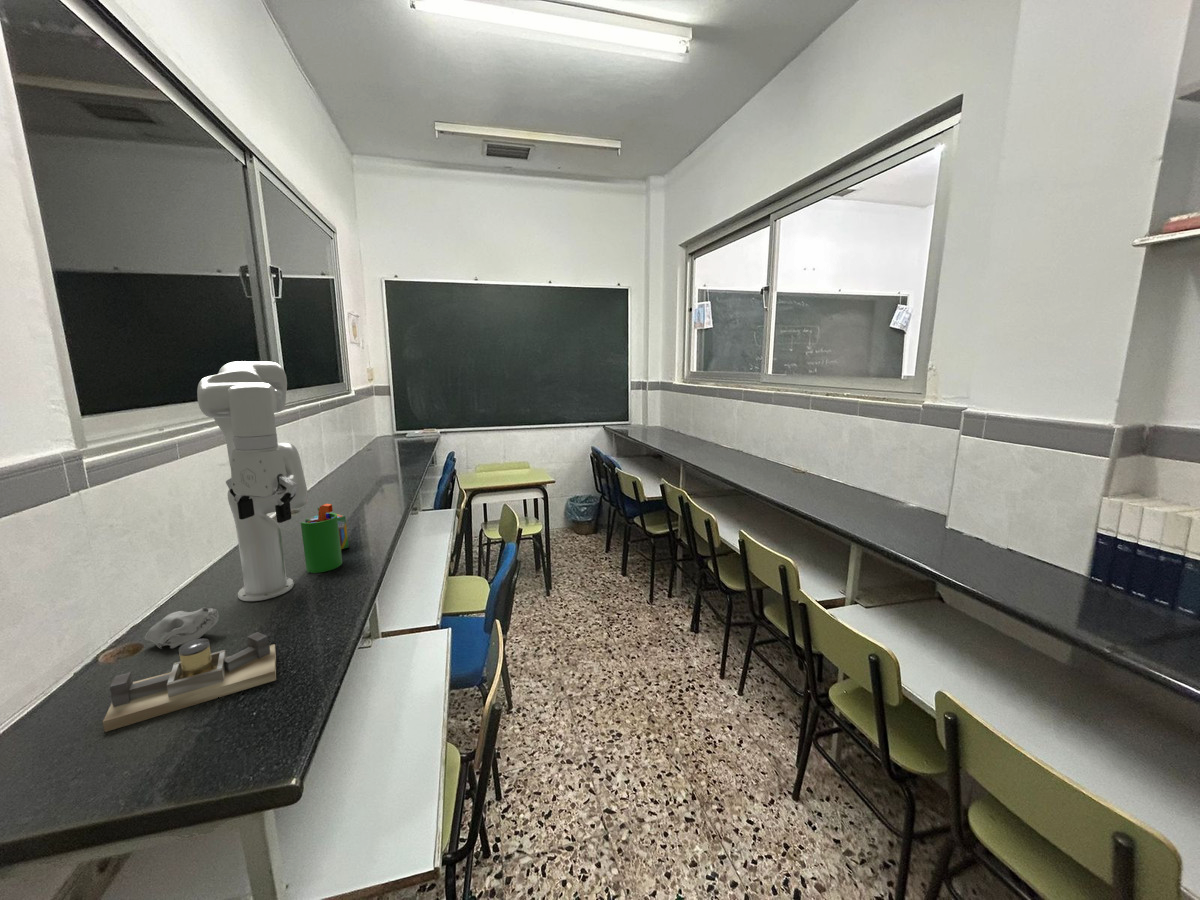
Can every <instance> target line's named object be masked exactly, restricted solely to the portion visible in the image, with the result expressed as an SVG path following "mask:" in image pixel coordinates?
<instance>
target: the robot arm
mask: <svg viewBox="0 0 1200 900" xmlns="http://www.w3.org/2000/svg"><path fill="white" fill-rule="evenodd" d="M287 378H288V377H287V375H286V372H285V369H284V368H283V366H281V364H279V363H277V362H273V361H246V360H244V361H243V360H241V361H238V360H237V361H231V362H228V363H226V364H224V365H222V366H221V368H219V371H218V373H217V374H213V375H208V376H205V377H203V378H201V380H200V381H199V382H198V385H197V390H196V393H197V403H198V407H199V409H200V410H201V413H203V415H205V416H206V417H207V418H213V420H214V422H215V423H216V425H217V426H218V428H219V429H220V431H221V432H222V433H223V436H224V438H225V442H226V443H225V444H226V449H227V456H228V462H229V466H230V473H231V474H230V478H228V479H227V480H226V481H225V484H226V486H227V488H228V490H227V500H228V505H229V507H230V511H231V514H232V517H233V520H234V524H235V530H236V534H237V535H236V536H237V542H238V551H239V556H240V557H239V559H240V565H241V572H242V578H243V579H242V580H243V586H242V588H240V589H239V590H238V592H237V597H238V599H239V600H241V601H243V602H259V601H265V600H270V599H273V598H276V597H279V596H281V595H284V594H285V593H288V592H289V591H291V590H292V589H293V587H294V580H293V579H292V578H291V577H287V571H286V563H285V556H284V555H285V553H284V546H283V537H282V529H281V526H280V524H281V523H285V522H286V521H289V520H292V510H294V509H300V508H302V507H304V506H305V505H306V504H307V502H308V499H309V496H308V488H307V482H306V479H305V474H304V469H303V465H302V461H301V457H300V454H299V451H298V449H297V448H296V446H295V445H294V444H292V443H290V442H278V434H277V425H276V417H275V414H276V413H281V412H282V411H283V410H284V409H285V407H286V404H287V403H286V400H287V389H288V380H287ZM272 513H275V516H276V517H275V518H276V519H273V518H272V517H271V516H269V515H268V514H272Z"/></svg>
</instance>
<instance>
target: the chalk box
mask: <svg viewBox="0 0 1200 900" xmlns="http://www.w3.org/2000/svg"><path fill="white" fill-rule="evenodd" d="M319 508H320V507H317V511H318V512H319ZM326 513H327V512H326ZM330 513H334V514H337V519H338V528H339V537H340V545H341V551H342V550H343V549H347V548H349V547H350V545H349V535H348V529H347V528H348V527H347V520H346V515H343V514H339V513H336V512H333V511H332V512H330ZM316 519H318V515H314V516H311V517H307V518H305V519H304V522H305V523H307V522H309V521H312V520H316Z"/></svg>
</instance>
